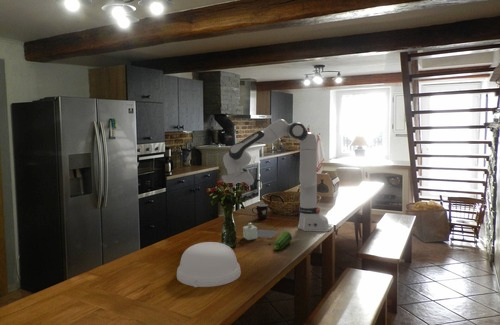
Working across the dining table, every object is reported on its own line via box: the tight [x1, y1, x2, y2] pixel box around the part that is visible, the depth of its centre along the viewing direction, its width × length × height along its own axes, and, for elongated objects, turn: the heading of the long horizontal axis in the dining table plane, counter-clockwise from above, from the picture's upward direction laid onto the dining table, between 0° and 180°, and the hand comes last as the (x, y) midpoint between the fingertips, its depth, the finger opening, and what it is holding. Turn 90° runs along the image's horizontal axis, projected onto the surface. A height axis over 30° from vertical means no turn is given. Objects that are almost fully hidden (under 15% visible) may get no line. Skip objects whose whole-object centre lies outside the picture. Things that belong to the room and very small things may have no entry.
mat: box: [257, 228, 280, 239], centre depth 249 cm, size 14×16×1 cm
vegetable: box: [273, 231, 293, 251], centre depth 223 cm, size 7×7×20 cm
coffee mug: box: [251, 203, 269, 221], centre depth 291 cm, size 12×9×10 cm
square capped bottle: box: [242, 222, 259, 241], centre depth 239 cm, size 6×6×10 cm
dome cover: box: [176, 241, 242, 288], centre depth 184 cm, size 32×30×14 cm
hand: (242, 190), depth 248 cm, fingers open, 8 cm apart
